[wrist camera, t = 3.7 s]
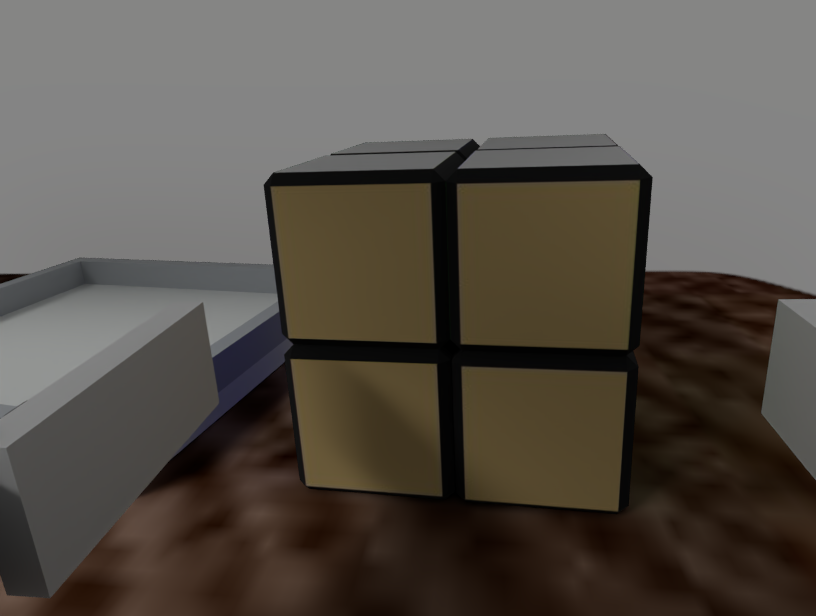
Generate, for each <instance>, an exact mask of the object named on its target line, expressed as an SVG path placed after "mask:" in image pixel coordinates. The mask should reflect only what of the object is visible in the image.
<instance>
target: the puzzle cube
mask: <svg viewBox="0 0 816 616" xmlns="http://www.w3.org/2000/svg"><path fill="white" fill-rule="evenodd" d="M651 190H652V176H651V175H650V174H649V173H648V172H647V171H646V170H645V169H644V168H643V167H642V166H641V165H640V164H639V163H637V161H636V160H634V159H633V158H632V157H631V156H630V155H629V154H628V153H627V152H626V151H624V150H623V149H622V148H621V147H620V146H618V145H617V144H616V143H615V142H614V141H613V140H611V139H610V138H609V137H608V136H607V135H606V134H593V135H563V136H534V137H505V138H488V139H487V141H485V142H484V143H483V144H482V146H479V145H478V144H477V143H476V142H475V141H474V140H473V139H456V140H430V141H429V140H428V141H398V142H369V143H363V144H360V145H356V146H353V147H350V148H347V149H344V150H341V151H338V152H335V153H332V154H331V155H330V156H323V157H320V158H317V159H314V160H311V161H308V162H305V163H302V164H299V165H295V166H292V167H290V168H286V169H283V170H280V171H277V172H274V173H273V174H272V175H271V176H270V177H269V179H268V180H267V181H266V183H265V184H264V191H265V200H266V208H267V215H268V224H269V232H270V240H271V248H272V257H273V265H274V273H275V281H276V290H277V298H278V306H279V314H280V322H281V330H282V334H283V335H284V336H285V337H286V338H287V339H288V340H289V341H290V342H291V343H292V344H293V345H292V346H291V347H290V349H289V350H288V351H287V352H286V353H285V354H284V358H285V366H286V374H287V382H288V389H289V397H290V405H291V413H292V421H293V429H294V436H295V444H296V452H297V460H298V468H299V476H300V480H301V481H302V483H303V484H304V485H305V486H306V487H308V488H310V489H323V490H335V491H348V492H360V493H372V494H385V495H397V496H410V497H422V498H435V499H446V498H448V497H449V496H450V495H451V494H453V493H454V492H455V489H456V493H457V494H458V495H459V496H460V497H462V498H463V499H464V500H465V501H466V502H478V503H490V504H503V505H515V506H527V507H540V508H552V509H565V510H577V511H589V512H602V513H614V514H617V513H618V512H620V511H621V510H623V509H624V508H626V507H627V506H629V492H630V478H631V464H632V450H633V436H634V422H635V408H636V394H637V380H638V364H637V361H636V358H635V355H634V352H633V350H634V349H636V348H637V347H638V346H639V344H640V332H641V319H642V306H643V293H644V280H645V267H646V255H647V242H648V229H649V215H650V203H651Z"/></svg>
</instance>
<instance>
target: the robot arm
mask: <svg viewBox="0 0 816 616" xmlns="http://www.w3.org/2000/svg"><path fill="white" fill-rule="evenodd" d="M218 404H219V397H218V391H217V384H216V378H215V372H214V366H213V360H212V354H211V348H210V341H209V335H208V329H207V323H206V317H205V311H204V305H203V302H173V303H171V304H170V305H168V306H167V307H166V308H164V309H163V310H161V311H160V312H158V313H157V314H155V315H154V316H152V317H151V318H149V319H148V320H146V321H145V322H143V323H142V324H140V325H139V326H137V327H136V328H134V329H133V330H131V331H130V332H128V333H127V334H125V335H124V336H122V337H121V338H119V339H118V340H117V341H115V342H114V343H112V344H111V345H109V346H108V347H106V348H105V349H103V350H102V351H100V352H99V353H97V354H96V355H94V356H93V357H91V358H90V359H88V360H87V361H85V362H84V363H82V364H81V365H79V366H78V367H76V368H75V369H73V370H72V371H71V372H69V373H68V374H66V375H65V376H63V377H62V378H60V379H59V380H57V381H56V382H54V383H53V384H51V385H50V386H48V387H47V388H45V389H44V390H42V391H41V392H39V393H38V394H36V395H35V396H33V397H32V398H30V399H29V400H27V401H25V402H23V403H22V404H20V405H19V406H17V407H16V408H14V409H13V410H11V411H10V412H8V413H7V414H5V415H4V417H2V418H0V575H1V578H2V581H3V584H4V587H5V591H6V594H7V595H13V596H28V597H43V598H51V596H52V595H53V594H54V593H55V592H56V591H57V590H58V588H59V587H60V586H61V585H62V584H63V583H64V581H65V580H66V579H67V578H68V577H69V576H70V575H71V573H72V572H73V571H74V570H75V569H76V568H77V566H78V565H79V564H80V563H81V562H82V561H83V560H84V558H85V557H86V556H87V555H88V554H89V553H90V552H91V550H92V549H93V548H94V547H95V546H96V545H97V543H98V542H99V541H100V540H101V539H102V538H103V537H104V535H105V534H106V533H107V532H108V531H109V530H110V528H111V527H112V526H113V525H114V524H115V523H116V522H117V520H118V519H119V518H120V517H121V516H122V515H123V513H124V512H125V511H126V510H127V509H128V508H129V507H130V505H131V504H132V503H133V502H134V501H135V500H136V498H137V497H138V496H139V495H140V494H141V493H142V492H143V490H144V489H145V488H146V487H147V486H148V485H149V484H150V482H151V481H152V480H153V479H154V478H155V477H156V475H157V474H158V473H159V472H160V471H161V470H162V469H163V467H164V466H165V465H166V464H167V463H168V462H169V460H170V459H171V458H172V457H173V456H174V455H175V454H176V452H177V451H178V450H179V449H180V448H181V447H182V445H183V444H184V443H185V442H186V441H187V440H188V439H189V437H190V436H191V435H192V434H193V433H194V432H195V430H196V429H197V428H198V427H199V426H200V425H201V424H202V422H203V421H204V420H205V419H206V418H207V417H208V416H209V414H210V413H211V412H212V411H213V410H214V409H215V407H216V406H217V405H218ZM761 414H762V415H763V416H764V417H765V418H766V420H767V421H768V422H769V423H770V425H771V426H772V427H773V428H774V430H775V431H776V432H777V433H778V434H779V436H780V437H781V438H782V439H783V441H784V442H785V443H786V444H787V446H788V447H789V448H790V449H791V450H792V452H793V453H794V454H795V455H796V457H797V458H798V459H799V460H800V461H801V463H802V464H803V465H804V466H805V468H806V469H807V470H808V471H809V473H810V474H811V475H812V476H813V477H814V479H815V480H816V299H778V305H777V312H776V318H775V325H774V332H773V338H772V345H771V351H770V358H769V365H768V371H767V378H766V384H765V391H764V397H763V404H762V411H761Z"/></svg>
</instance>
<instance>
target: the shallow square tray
mask: <svg viewBox="0 0 816 616" xmlns="http://www.w3.org/2000/svg"><path fill="white" fill-rule="evenodd" d="M173 302H203V305H204V311H205V317H206V323H207V329H208V335H209V341H210V348H211V354H212V360H213V366H214V372H215V378H216V384H217V391H218V397H219V404H218V405H217V406H216V407H215V409H214V410H213V411H212V412H211V413H210V414H209V416H208V417H207V418H206V419H205V420H204V421H203V422H202V424H201V425H200V426H199V427H198V428H197V429H196V430H195V432H194V433H193V434H192V435H191V436H190V437H189V439H188V440H187V441H186V442H185V443H184V444H183V445H182V447H181V448H180V449H179V450H178V451H177V452H176V454H175V455H177V454H178V453H179V452H180V451H181V450H182V449H184V448H185V447H186V446H187V445H188V444H189V443H191V442H192V441H193V440H194V439H195V438H196V437H198V436H199V435H200V434H201V433H202V432H203V431H205V430H206V429H207V428H208V427H209V426H210V425H212V424H213V423H214V422H215V421H216V420H217V419H219V418H220V417H221V416H222V415H223V414H224V413H226V412H227V411H228V410H229V409H230V408H231V407H233V406H234V405H235V404H236V403H237V402H238V401H240V400H241V399H242V398H243V397H244V396H245V395H247V394H248V393H249V392H250V391H251V390H252V389H254V388H255V387H256V386H257V385H258V384H259V383H261V382H262V381H263V380H264V379H265V378H266V377H268V376H269V375H270V374H271V373H272V372H273V371H275V370H276V369H277V368H278V367H279V366H281V365H282V364H283V363H284V362H285V358H284V354H285V353H286V352H287V351H288V350H289V349H290V347H291V346H292V345H293V344H292V343H291V342H290V341H289V340H288V339H287V338H286V337H285V336H284V335H283V334H282V330H281V322H280V314H279V306H278V298H277V290H276V281H275V273H274V265H266V264H265V265H263V264H236V263H211V262H183V261H156V260H155V261H154V260H129V259H102V258H78V259H75V260H71V261H68V262H66V263H62V264H60V265H56V266H53V267H50V268H47V269H44V270H41V271H38V272H35V273H32V274H29V275H26V276H23V277H20V278H17V279H14V280H11V281H8V282H5V283H2V284H0V418H2V417H4V415H5V414H7V413H8V412H10V411H11V410H13V409H14V408H16V407H17V406H19V405H20V404H22V403H23V402H25V401H27V400H29V399H30V398H32V397H33V396H35V395H36V394H38V393H39V392H41V391H42V390H44V389H45V388H47V387H48V386H50V385H51V384H53V383H54V382H56V381H57V380H59V379H60V378H62V377H63V376H65V375H66V374H68V373H69V372H71V371H72V370H73V369H75V368H76V367H78V366H79V365H81V364H82V363H84V362H85V361H87V360H88V359H90V358H91V357H93V356H94V355H96V354H97V353H99V352H100V351H102V350H103V349H105V348H106V347H108V346H109V345H111V344H112V343H114V342H115V341H117V340H118V339H119V338H121V337H122V336H124V335H125V334H127V333H128V332H130V331H131V330H133V329H134V328H136V327H137V326H139V325H140V324H142V323H143V322H145V321H146V320H148V319H149V318H151V317H152V316H154V315H155V314H157V313H158V312H160V311H161V310H163V309H164V308H166V307H167V306H168V305H170V304H171V303H173ZM175 455H174V456H175ZM174 456H173V457H174ZM173 457H172V458H173ZM172 458H171V459H172ZM171 459H170V460H171ZM170 460H169V461H170Z"/></svg>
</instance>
